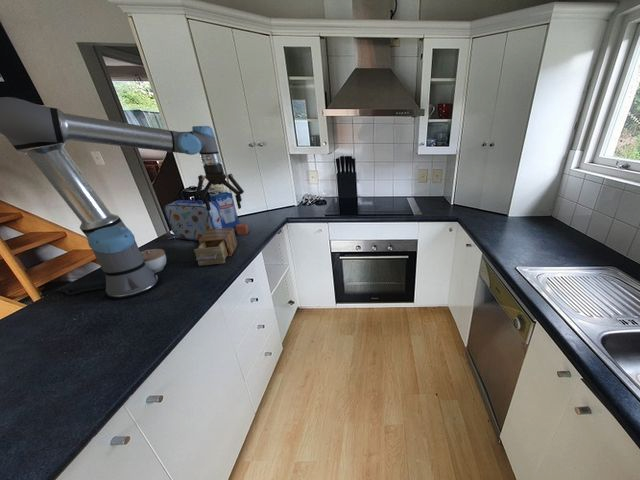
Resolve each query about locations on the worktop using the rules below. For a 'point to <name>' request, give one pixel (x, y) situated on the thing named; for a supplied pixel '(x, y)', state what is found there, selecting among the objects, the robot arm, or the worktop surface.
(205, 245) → the drawer
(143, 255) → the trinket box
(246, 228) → the block
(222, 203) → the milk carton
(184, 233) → the lunch box
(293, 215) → the worktop surface
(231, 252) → the cabinet
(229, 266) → the worktop surface
